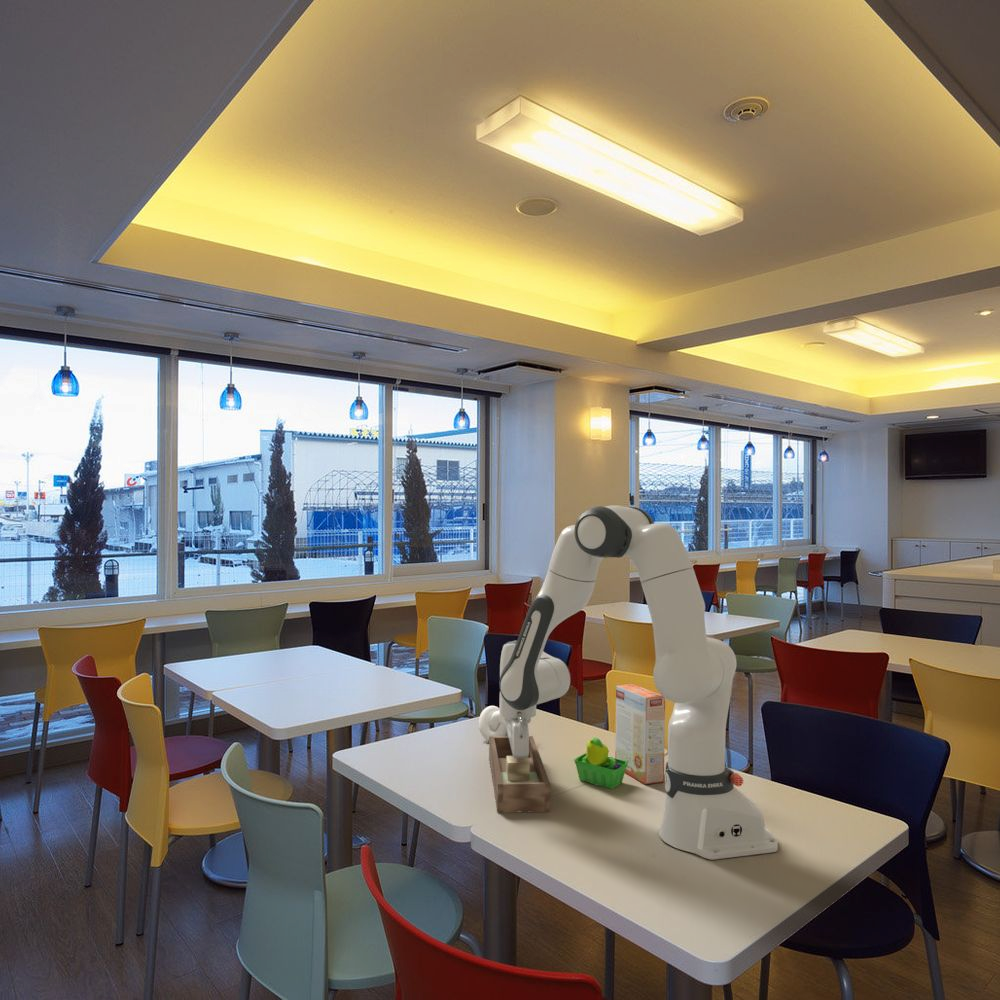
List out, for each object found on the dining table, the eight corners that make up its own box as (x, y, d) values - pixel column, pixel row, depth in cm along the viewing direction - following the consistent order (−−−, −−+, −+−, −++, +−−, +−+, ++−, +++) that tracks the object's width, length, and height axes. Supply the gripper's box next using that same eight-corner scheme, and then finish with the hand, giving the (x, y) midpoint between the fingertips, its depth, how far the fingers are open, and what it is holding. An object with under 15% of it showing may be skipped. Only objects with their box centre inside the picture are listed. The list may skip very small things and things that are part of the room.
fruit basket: (629, 782, 176) (629, 735, 176) (611, 793, 169) (612, 744, 169) (588, 772, 183) (588, 726, 183) (569, 782, 175) (570, 735, 176)
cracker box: (665, 782, 176) (666, 695, 176) (644, 785, 174) (645, 697, 174) (634, 764, 189) (635, 682, 189) (614, 766, 187) (614, 684, 187)
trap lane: (532, 759, 192) (532, 736, 192) (550, 811, 158) (550, 783, 158) (489, 759, 191) (489, 736, 191) (497, 812, 157) (497, 784, 157)
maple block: (527, 772, 173) (527, 755, 173) (529, 780, 168) (529, 762, 168) (506, 772, 173) (506, 755, 173) (507, 780, 168) (507, 762, 168)
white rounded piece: (490, 730, 217) (491, 700, 217) (528, 736, 212) (529, 704, 212) (474, 741, 206) (475, 709, 206) (514, 747, 202) (514, 714, 202)
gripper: (535, 719, 165) (534, 780, 165) (526, 696, 185) (526, 751, 185) (507, 719, 165) (507, 781, 164) (502, 696, 185) (501, 751, 185)
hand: (517, 765), depth 175 cm, fingers closed
